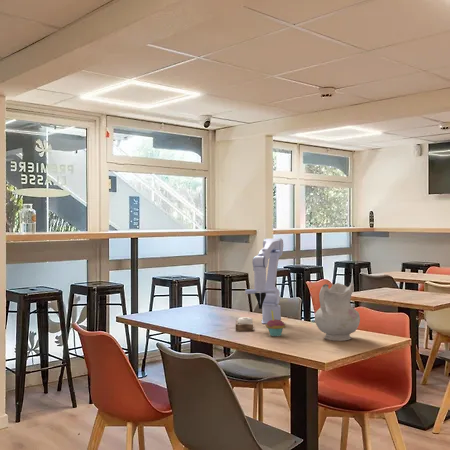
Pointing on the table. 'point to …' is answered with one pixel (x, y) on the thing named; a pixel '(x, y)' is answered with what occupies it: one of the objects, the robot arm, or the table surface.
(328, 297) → the ceramic pitcher
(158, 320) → the table surface
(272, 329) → the cupcake
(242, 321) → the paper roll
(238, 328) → the holder
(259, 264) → the robot arm
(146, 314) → the table surface
